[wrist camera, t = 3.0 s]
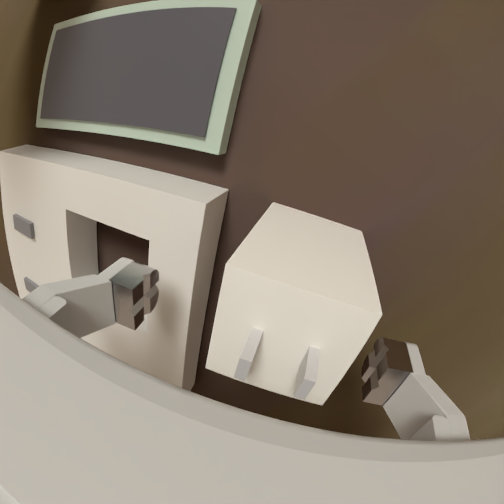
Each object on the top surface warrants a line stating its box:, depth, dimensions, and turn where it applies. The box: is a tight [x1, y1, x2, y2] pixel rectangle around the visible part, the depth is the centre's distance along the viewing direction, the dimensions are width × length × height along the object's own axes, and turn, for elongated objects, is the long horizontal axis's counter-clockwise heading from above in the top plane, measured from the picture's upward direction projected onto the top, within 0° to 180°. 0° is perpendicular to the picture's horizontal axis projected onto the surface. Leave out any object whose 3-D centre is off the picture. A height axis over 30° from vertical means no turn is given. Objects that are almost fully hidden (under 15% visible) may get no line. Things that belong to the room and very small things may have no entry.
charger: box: [205, 202, 382, 405], centre depth 10 cm, size 4×4×7 cm
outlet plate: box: [0, 144, 229, 391], centre depth 15 cm, size 16×14×3 cm
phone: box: [36, 0, 262, 155], centre depth 11 cm, size 13×7×2 cm, turn 76°
